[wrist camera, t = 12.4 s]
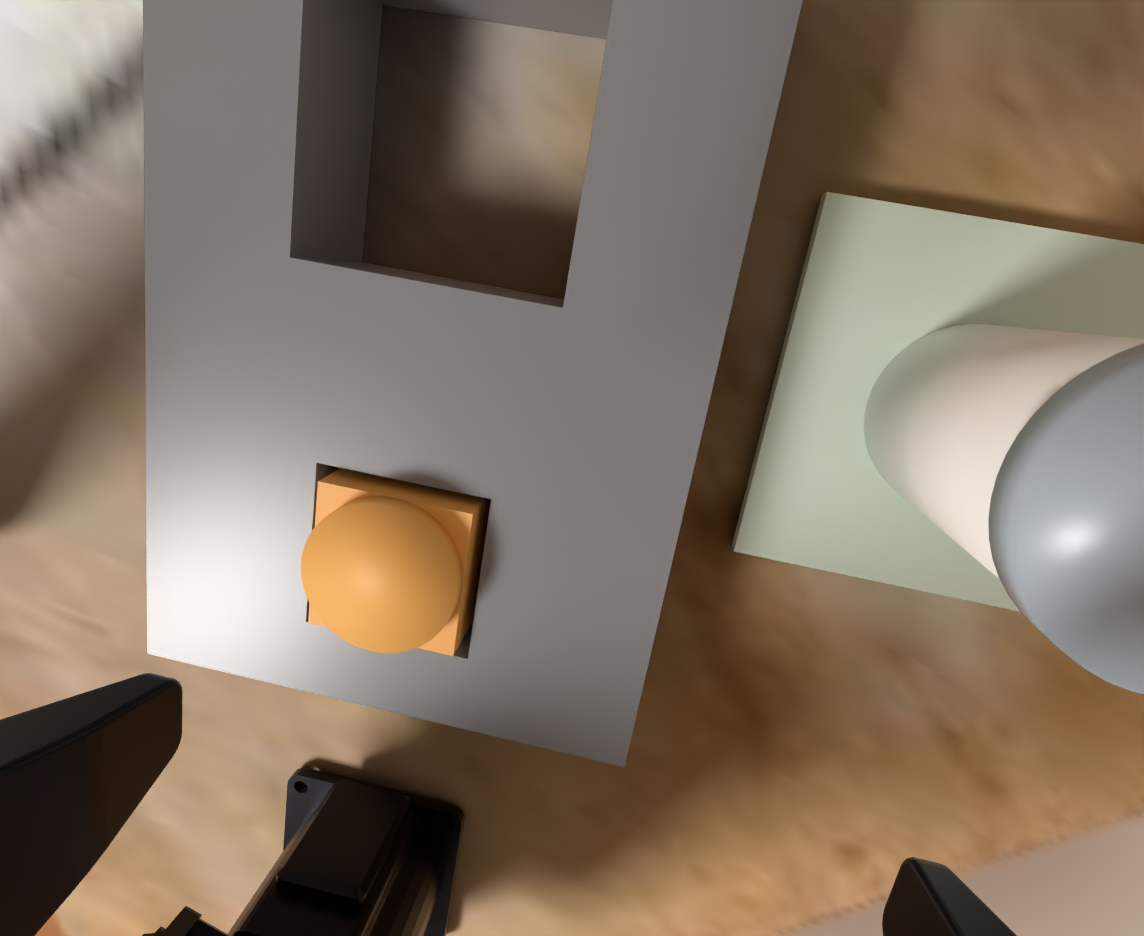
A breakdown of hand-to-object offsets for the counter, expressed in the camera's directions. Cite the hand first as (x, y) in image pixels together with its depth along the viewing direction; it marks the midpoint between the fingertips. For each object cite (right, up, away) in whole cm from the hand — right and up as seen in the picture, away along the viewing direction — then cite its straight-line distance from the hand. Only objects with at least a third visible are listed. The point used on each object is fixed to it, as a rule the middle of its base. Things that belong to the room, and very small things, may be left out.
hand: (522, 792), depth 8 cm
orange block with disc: (-4, +2, +13) cm, 14 cm away
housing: (-3, +8, +12) cm, 14 cm away
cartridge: (+11, +5, +10) cm, 16 cm away
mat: (+11, +5, +11) cm, 16 cm away
